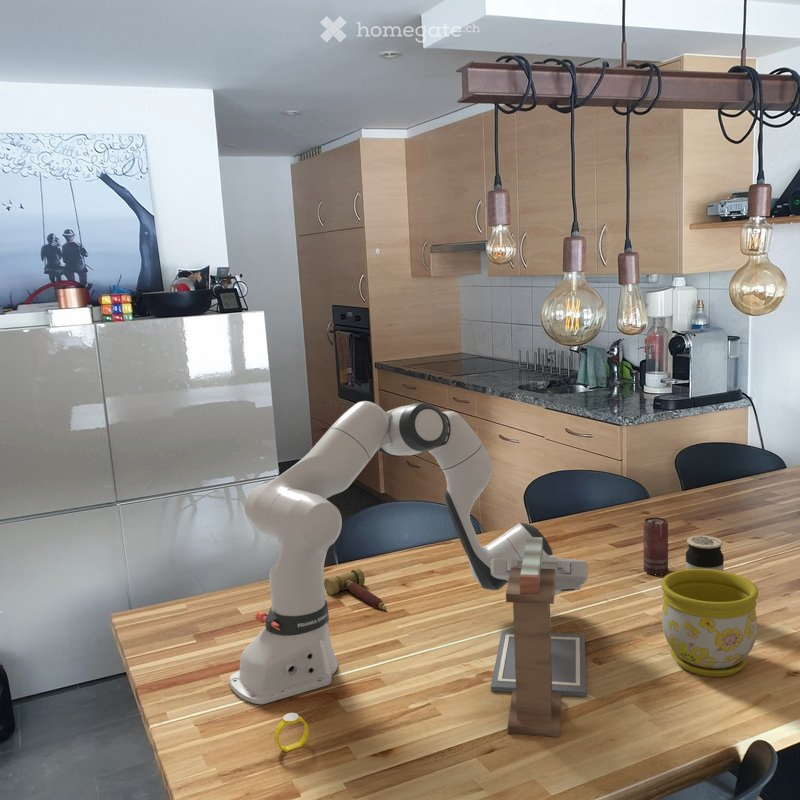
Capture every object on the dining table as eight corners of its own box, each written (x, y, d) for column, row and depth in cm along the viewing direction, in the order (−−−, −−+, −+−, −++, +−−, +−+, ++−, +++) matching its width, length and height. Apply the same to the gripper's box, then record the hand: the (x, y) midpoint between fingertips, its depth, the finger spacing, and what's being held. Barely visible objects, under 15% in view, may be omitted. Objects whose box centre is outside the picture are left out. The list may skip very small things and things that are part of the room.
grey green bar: (539, 593, 135) (538, 577, 135) (519, 593, 136) (519, 576, 135) (543, 552, 154) (543, 537, 154) (526, 551, 155) (526, 537, 155)
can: (652, 577, 205) (652, 525, 202) (639, 569, 211) (638, 518, 208) (673, 574, 206) (673, 522, 204) (659, 566, 212) (659, 515, 210)
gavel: (401, 593, 196) (367, 605, 190) (401, 611, 197) (368, 622, 191) (355, 565, 213) (323, 575, 207) (356, 581, 214) (323, 591, 208)
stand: (513, 697, 152) (508, 567, 148) (561, 700, 150) (558, 569, 146) (507, 733, 140) (502, 593, 136) (559, 737, 138) (556, 595, 134)
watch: (305, 740, 142) (304, 708, 142) (311, 747, 140) (310, 715, 139) (273, 749, 139) (272, 717, 139) (278, 757, 137) (278, 724, 136)
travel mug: (692, 624, 178) (692, 547, 175) (680, 609, 185) (681, 535, 182) (728, 623, 177) (729, 546, 174) (715, 608, 185) (716, 534, 182)
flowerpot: (689, 633, 174) (689, 561, 171) (773, 660, 160) (774, 583, 158) (644, 663, 162) (643, 586, 159) (729, 695, 149) (730, 612, 146)
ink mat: (501, 635, 178) (501, 630, 177) (584, 638, 174) (584, 633, 173) (490, 691, 154) (490, 685, 154) (586, 697, 151) (586, 691, 150)
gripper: (493, 558, 178) (486, 547, 166) (587, 560, 174) (587, 549, 161) (492, 587, 176) (485, 578, 164) (587, 590, 172) (588, 581, 159)
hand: (537, 564), depth 162 cm, fingers open, 8 cm apart
